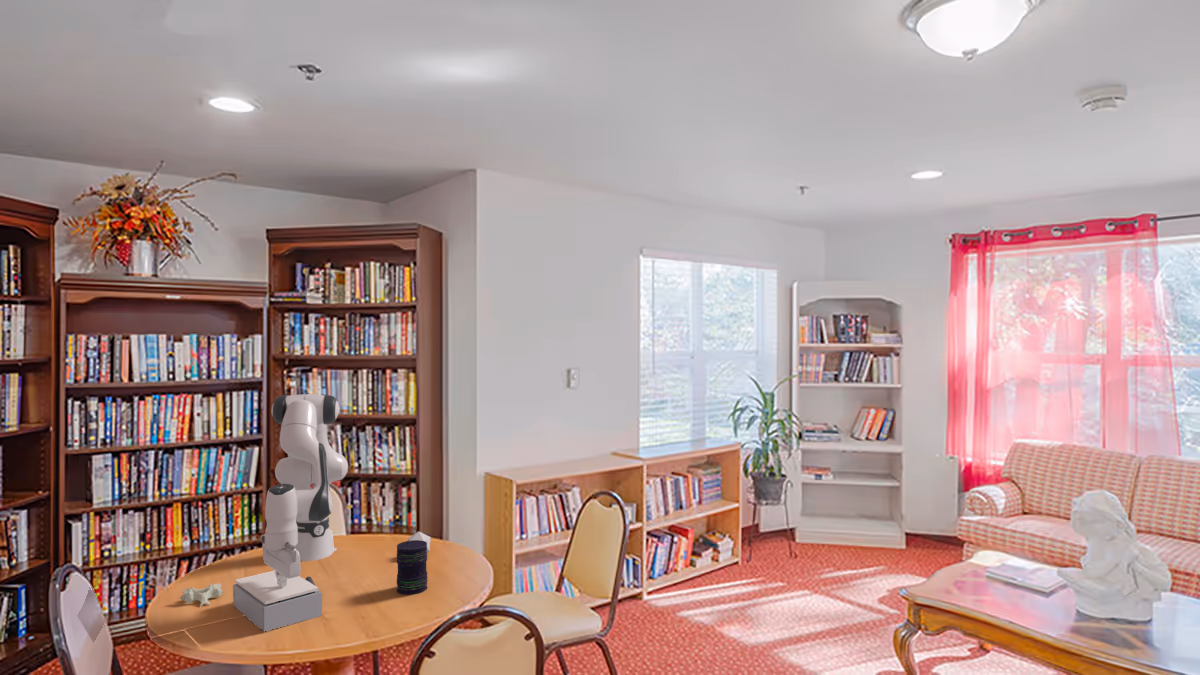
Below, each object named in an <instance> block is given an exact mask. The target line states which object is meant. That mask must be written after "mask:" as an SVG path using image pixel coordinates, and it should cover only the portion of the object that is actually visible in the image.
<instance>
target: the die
mask: <svg viewBox="0 0 1200 675" xmlns="http://www.w3.org/2000/svg"><path fill="white" fill-rule="evenodd" d="M431 538H432V537H431V536H429V535H427V534H425V533H423V532H421V531H417V532H415V533H413V534H412V535H410V536H409V537H408V538H407V541H412V540H420V541H425V542H427V553H429V552H430V549H431Z"/></svg>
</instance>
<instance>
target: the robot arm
mask: <svg viewBox="0 0 1200 675" xmlns="http://www.w3.org/2000/svg"><path fill="white" fill-rule="evenodd" d="M339 404H340V403H339V402H338V399H337V398H336V397H335V396H333V395H330V394H329V395H328V394H324V395H323V394H312V393H307V394H291V395H288V394H283V395H278V396H277V397H276V398H275V399H274V401H273V403H272V405H271V416H272V419H273V421H274V422H275V423H276V424H279V425H281V427H280V433H279V444H280V445H279V446H280V447H281V449H282V450H283V451H284V453H286V454H287V455H289V456H288V457H284V458H281V459H280V460H279V461H278V462H277V463H276V466H275V469H274V475H275V478H276V480H277V481H278V483H279V484H276V485H273V486H271V487H269V489H268V490H267V494H266V500H265V505H264V506H265V508H264V510H265V511H264V514H265V515H264V517H265V520H266V526H265V527H266V528H265V533H264V534H261V536H260V542H261V543H262V546H261V547H262V559H263V562H264V564H265V565H266V566H268V567H269V568H271V569H272V570H273V571H274V570H275V574H276V578H277V584H278V585H279V586H281V587H284V586H286V585H287V578H288V579H290V578H294V577H298V576H300V577H301V573H302V572H301V570H302V569H301V566H302V565H301V562H312V561H317V560H321V559H322V560H323V559H326V558H327V557H328V558H329V557H330V556H332V554H333V553H334V552H335V551H338V548H337V547H335V546H334V536H333V530H331V529H330V517H329V515H331V514H332V511H333V507H334V506H333V498H332V494H331V489H330V488H331V486H330V483H333V482H337V481H340V480H343V479H344V478H345V477H346V475H347V473H348V470H349V463H348V460H347V458H346V456H344V455H343V454H341V453H338V452H337V451H335V449H333V448H332V447H331V445H330V444H329V440H328V432H327V431H328V430H327V425H330V424H333V423H335V421H336V420H337V418H338V416H339V414H340V405H339ZM312 484H315V486H314V488H312V487H311V485H312Z"/></svg>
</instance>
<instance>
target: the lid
mask: <svg viewBox="0 0 1200 675" xmlns="http://www.w3.org/2000/svg"><path fill="white" fill-rule="evenodd" d="M305 579H306V578H304V577H301V575H300V576H298V577H294V578H290V579H288V578H287V585H286V586H284V587H281V586H279V585H278V584H277V578H276V574H275V570H274V569H273V570H271V571H266V572H262V573H258V574H254V575H250V576H245V577H242V578H241V577H240V578H236V579H234V581H235V584H238V585H239V586H241V587H242V588H244V589H245V590H246V591H248V592H249V593H250V594H252V595H253V596H254V597H256V598H257V599H258V600H260V601H261V602H262V603H264V604H265V605H271V604H275V603H278V602H279V601H280V602H282V601H286V600H290V599H291V598H292V597H296V596H300V595H303V594H307V593H311V592H314V591H318V590H319V587H318V586H317V585H316V584H315V585H313V584H312V583H310V582H308V581H307V580H305ZM319 591H320V590H319Z"/></svg>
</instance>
